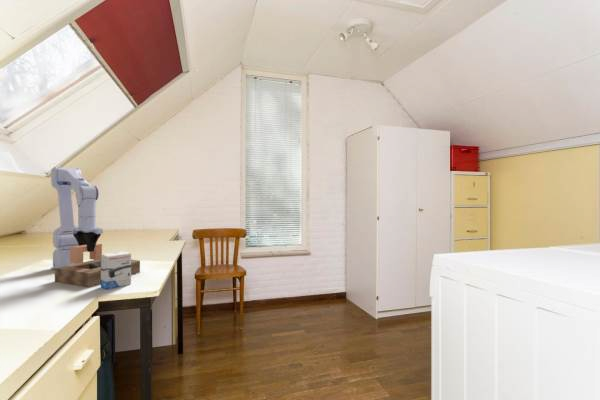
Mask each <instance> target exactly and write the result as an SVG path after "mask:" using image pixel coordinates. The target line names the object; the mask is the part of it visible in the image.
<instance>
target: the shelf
mask: <svg viewBox="0 0 600 400" xmlns="http://www.w3.org/2000/svg"><path fill="white" fill-rule="evenodd" d="M138 272H139V273H141V261H140V260H138V259H131V276H132V275H135V274H139V273H138ZM54 282H56V283H62V284H68V285H74V286H79V287H86V288H91V287H94V286H95V287H96V286H99V285H101V259H98V260H93V259H90V260H88V261H83V263H78V264H72V265H68V266H63V267H58V268H55V269H54Z"/></svg>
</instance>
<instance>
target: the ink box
mask: <svg viewBox="0 0 600 400" xmlns="http://www.w3.org/2000/svg"><path fill="white" fill-rule="evenodd" d="M131 260H132V253H130V252H128V251H127V250H126V251H117V252H108V253H102V255H101V284H100V287H101V288H103V289H104V290H110V289H114V288H119V287H123V286H124V287H125V286H129V285H131V284H132V275H131Z"/></svg>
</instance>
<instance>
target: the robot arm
mask: <svg viewBox="0 0 600 400" xmlns="http://www.w3.org/2000/svg"><path fill="white" fill-rule="evenodd" d="M50 181H51V182H50V183H51V186H52V188H54V189H56V191H57V197H58V198H57V199H58V200H57V201H58V210H59V219H60V220H59V222H60V226H59V227H58V228H56V229H55V230H53V233H52V234H53V235H52V244H53V247H54V248H55V250H53V252H52V267H50V269H51V270H55V268H58V267H63V266H68V265H72V264H75V263H70V247H74V246H81V245H87V253H90V252H92V251H94V249H95V246H96V243H97V242H98V240H99V238H100V237H101V235H102V234H103V233H104V230H103V229H104V228H101V227H97V211H96V210H97V209H96V207H97V206H96V205H97V204H96V203H97V202H96V201H98V199H99V194H100V193H99V189H98V186H96V185H91V184H90V182H88V181H87V180H86V179H85V178H84V177H83V175H82V171H81V169H80V168H78V167H76V168H74V167H57V166H53V167H52V168H51V170H50ZM72 190H73V191H74V193H75V194H74V195H75V199H76V205H77V214H78V215H77V217H78V218H77V219H78V220H77V225H76V224H75V220H74V210H73V209H74V208H73V197H72ZM97 244H98V243H97Z"/></svg>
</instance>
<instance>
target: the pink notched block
mask: <svg viewBox="0 0 600 400" xmlns="http://www.w3.org/2000/svg"><path fill="white" fill-rule="evenodd" d="M84 253H88V251H87V245H81V246H74V247H70V263H75V264H78V263H83V262H84ZM101 255H103V244H102V243H96V246H95V249H94V251H92V252H89V260H98V259H101Z"/></svg>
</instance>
